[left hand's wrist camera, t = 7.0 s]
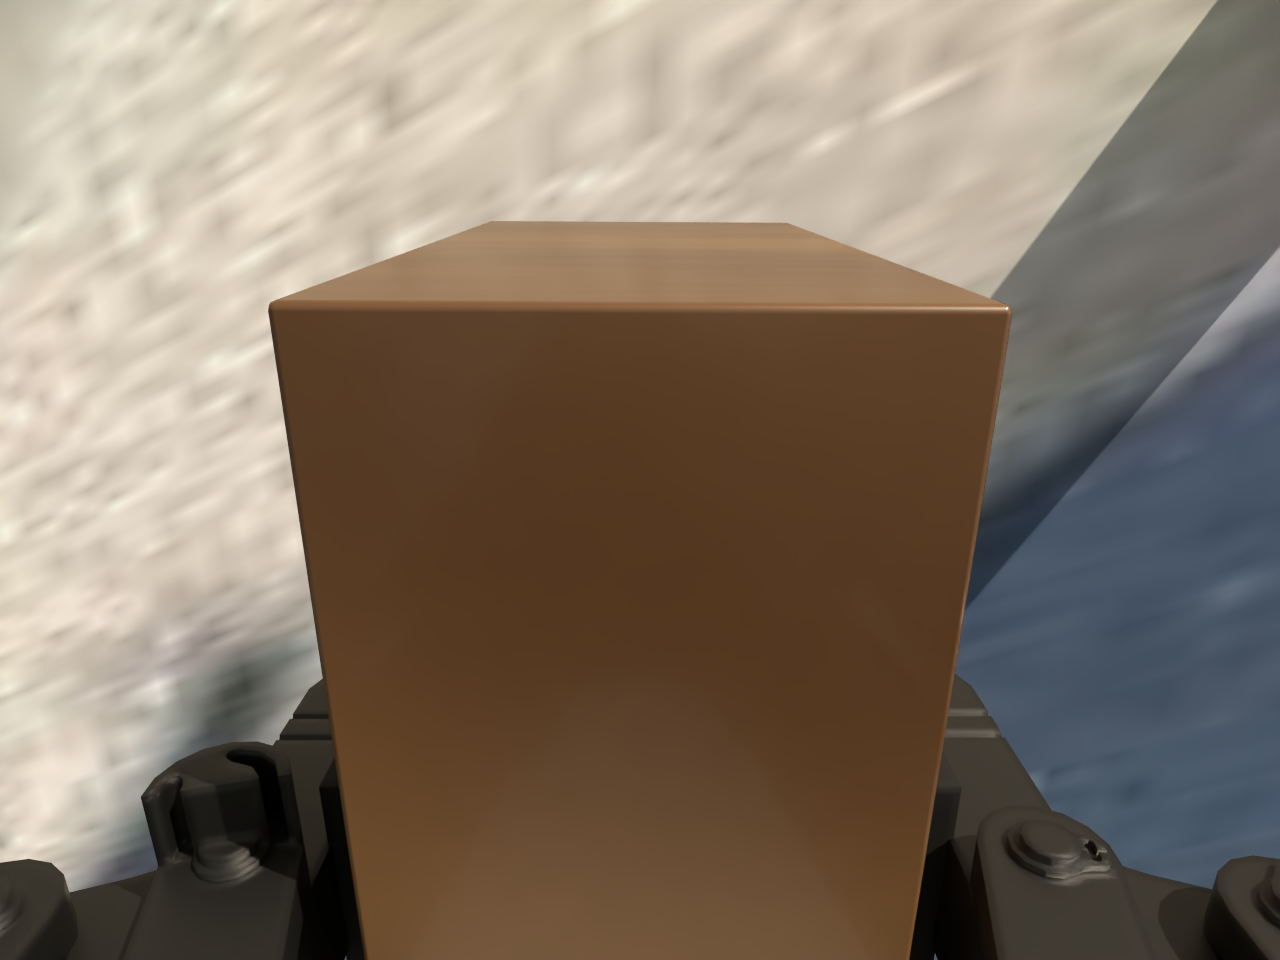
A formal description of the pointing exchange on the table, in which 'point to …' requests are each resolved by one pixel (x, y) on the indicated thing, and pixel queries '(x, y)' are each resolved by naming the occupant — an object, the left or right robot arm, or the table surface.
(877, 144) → the table surface
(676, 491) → the beam
